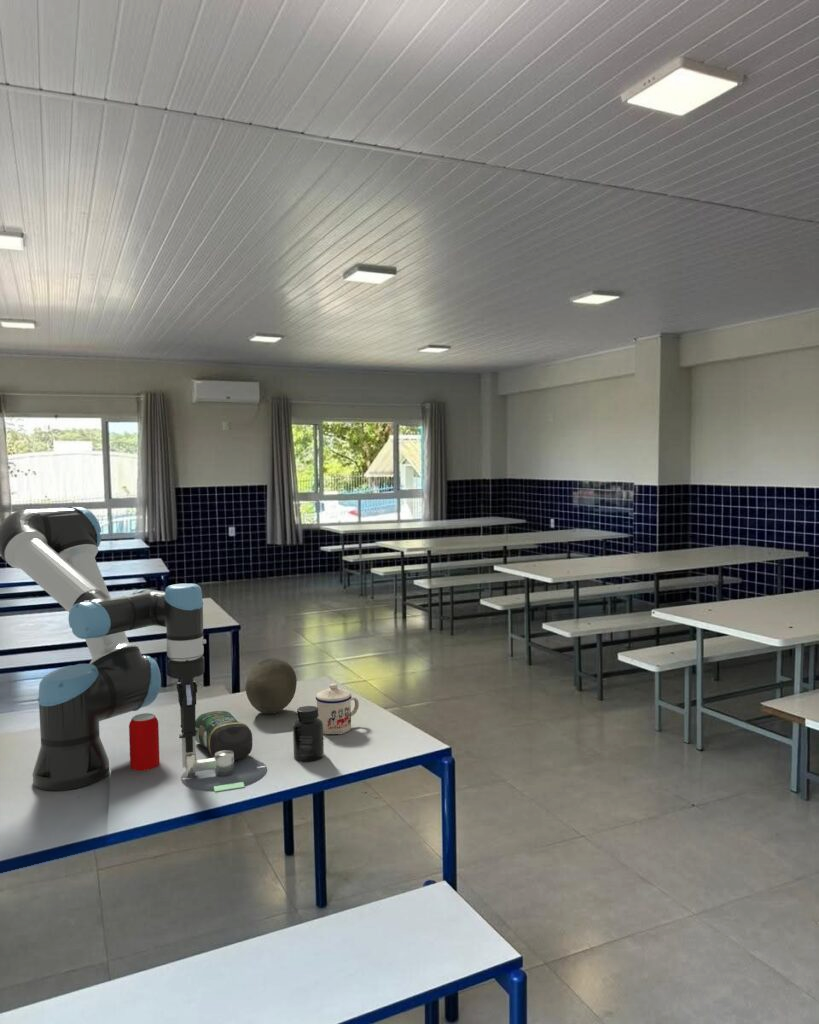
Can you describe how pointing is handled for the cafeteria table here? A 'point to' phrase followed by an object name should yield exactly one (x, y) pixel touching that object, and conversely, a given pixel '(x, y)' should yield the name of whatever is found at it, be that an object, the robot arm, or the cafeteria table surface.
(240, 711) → the cafeteria table surface
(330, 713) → the teacup with lid
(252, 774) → the dial plate
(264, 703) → the cantaloupe
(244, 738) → the coffee jar
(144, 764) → the beverage can
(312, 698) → the cafeteria table surface
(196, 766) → the pointer
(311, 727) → the supplement bottle
